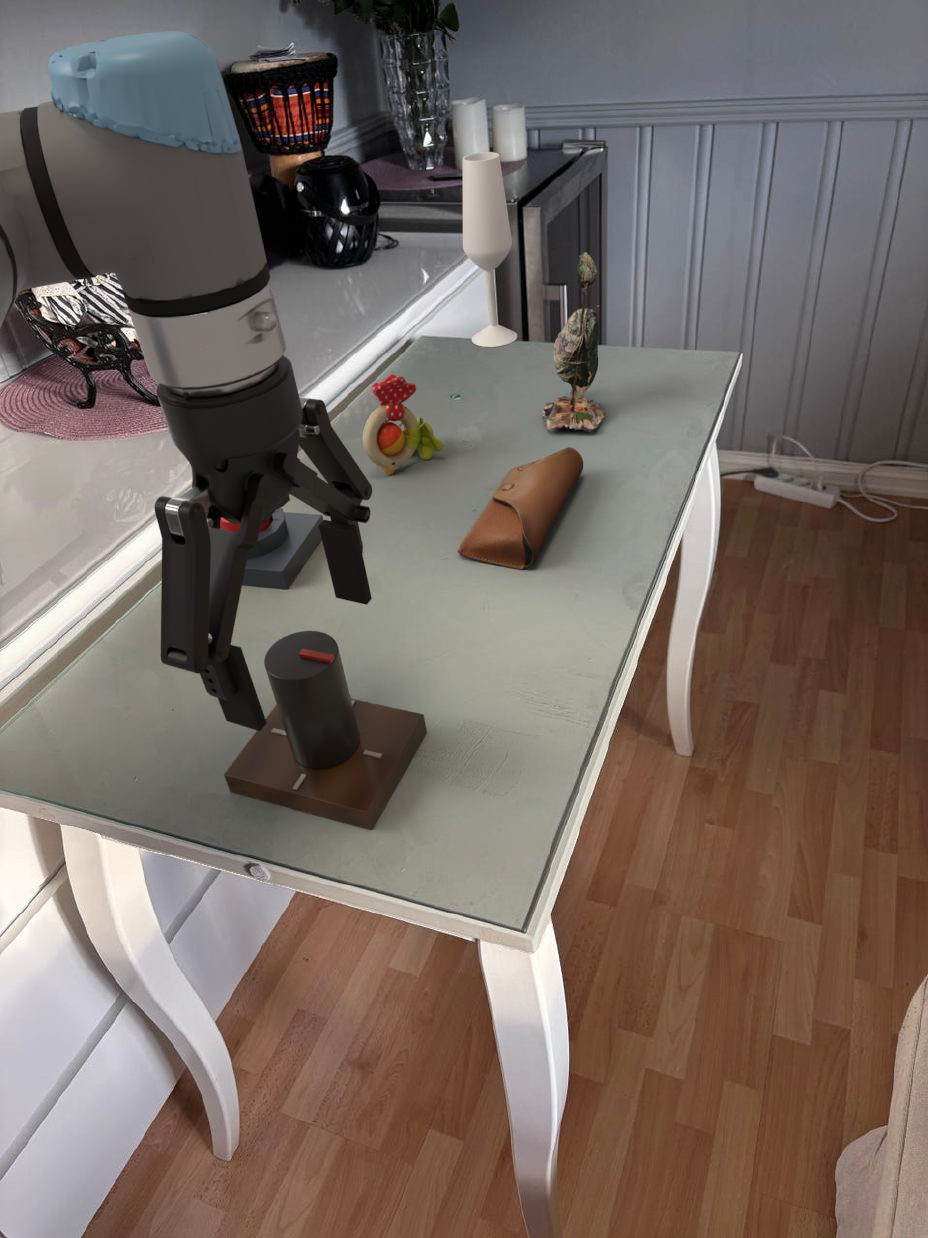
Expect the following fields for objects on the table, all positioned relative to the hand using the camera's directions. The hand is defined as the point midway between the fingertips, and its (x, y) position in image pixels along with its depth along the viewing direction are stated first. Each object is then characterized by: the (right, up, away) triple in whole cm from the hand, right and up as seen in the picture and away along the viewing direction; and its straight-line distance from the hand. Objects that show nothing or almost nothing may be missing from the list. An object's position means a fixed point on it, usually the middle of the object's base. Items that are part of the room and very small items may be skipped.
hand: (304, 656), depth 63 cm
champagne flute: (+16, +43, +68) cm, 82 cm away
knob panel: (+1, -8, +7) cm, 11 cm away
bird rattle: (+4, +20, +42) cm, 47 cm away
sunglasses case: (+17, +13, +31) cm, 38 cm away
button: (-11, +12, +28) cm, 32 cm away
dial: (+1, -7, +5) cm, 9 cm away
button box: (-10, +9, +30) cm, 33 cm away
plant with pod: (+25, +27, +47) cm, 60 cm away
